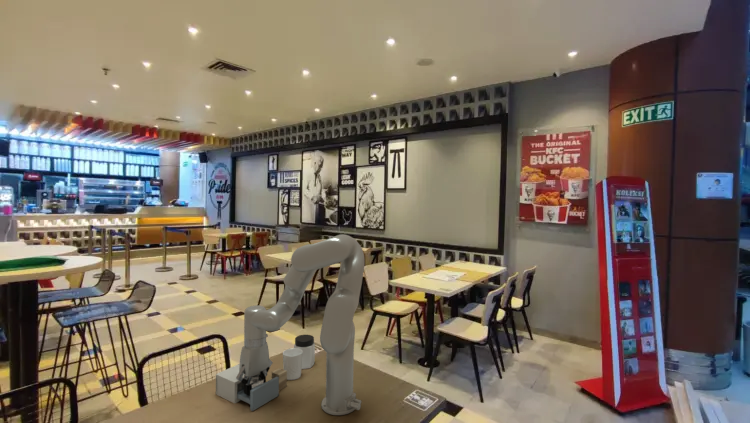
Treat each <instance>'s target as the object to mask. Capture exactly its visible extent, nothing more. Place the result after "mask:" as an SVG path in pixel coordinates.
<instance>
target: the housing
mask: <svg viewBox="0 0 750 423" xmlns="http://www.w3.org/2000/svg"><path fill="white" fill-rule="evenodd" d="M239 365H240V363H238V364H235V365H234V366H231V367H229V368H227V369H224V370H222V371H220V372H218V373H216V374H215V395H217V396H218V397H220V398H222V399H225V400H227V401H229V402H231V403H233V404H237V403H239V402H241V400H240V399H238V398H237V392H238V391H240V390H242V389H244V384H243V383H242V382H240V381H239V380H237V379H236V377H237V375H238V373H239ZM259 375H260V372H259V373H257V374H255V375H253V376H252V377H259ZM243 377H244V374H243V376H242V378H243ZM247 379H248V377H247ZM247 379H246V380H247Z"/></svg>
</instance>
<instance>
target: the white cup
mask: <svg viewBox="0 0 750 423" xmlns="http://www.w3.org/2000/svg"><path fill="white" fill-rule="evenodd" d="M302 352H303V351H302V350H301V349H298V348H294V347H293V348H288V349H284V350H283V352H282V364H283V370H286V371H287V381H293V380H297V379H298V380H299V378H301V376H302V370H303V369H302Z"/></svg>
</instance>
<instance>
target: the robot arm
mask: <svg viewBox="0 0 750 423" xmlns="http://www.w3.org/2000/svg"><path fill="white" fill-rule="evenodd" d="M290 262H291V266H290V268H289V269H288V271H287V273H286V274H285V276H284V278H283V283H284V289H283V292H282V294H281V296H280V297H279V299H278V301H277V302H276V304H275V305H273V306H272V307H271V308H268V309H266V307H265V306H263V305H257V304H256V305H251V306H248V307H246V308H245V310H244V314H243V318H244V320H243V321H244V322H243V323H244V324H243V326H244V327H243V331H244V332H243V338H244V339H243V346H242V347H241V351H240V354H239V364H240V365H239V373H238V375H237V377H236V379H237V380H239V381H240V382H242V383H243V384H244V394H246V395H248V396H250V390H251V384H250V381H251V378H252V376H253V375H255V374H257V373H259V372H260V375H259V377H261V378H263V379H264V383H265V382H267V381H266V380H267V376H268V372H269V371H270V369H271V366H273V364H274V362H273V361H272V360H271V359H270V351H269V350H270V349H269V344H268V341H267V338H268V336H269V335H268V333H267V332H276V331H278V330H280V329H281V328H282V327H283V326H284V325H285V324H286V323H287V322H288V321H289V320H290V319H292V316H293V315H294V313H295V311H296V310H297V308H298V306H299V305H300V302H301V301H302V298H303V296H304V294H305V291H306V290H307V288H308V286H309V285H310V282H311V280H312V279H313V277H314V275H315V273H316V272H317V270H319V269H323V268H326V267H329V266H332V265H336V264H339V263H340V268H339V271H338V275H337V281H336V286H335V289H334V291H333V293H331V295H330V296H329V297H328V300H327V302H326V304H325V307H324V313H323V319H322V323H321V330H320V335H319V342H320V345H321V348H322V349H323V350H324V351H325V353H326V355H325V356H326V358H325V359H326V363H325V369H326V370H325V397H324V398H323V399H322V401H321V406H320V407H321V409H322V410H323V411H324V412H325V413H326V414H328V415H333V416H344V415H348V414H350V413H352V412H354V411H355V410H356V411H359V410H360V409H361V407H362V406H361V405H362V400H361V399H359V398H357V394H356V392H354V358H355V357H354V354H355V353H354V352H355V337H356V327H355V323H354V315H355V312H356V310H357V309H358V307H359V303H360V302H359V301H360V295H361V290H362V284H363V277H364V271H365V255H364V251H363V248H362V246H361V244H360V243H359V242H358V241H357V240H356V239H355V238H354V237H352V236H350V235H348V234H342V233H341V234H337V235H335V236H332V237H330V238H327V239H324V240H321V241H318V242H315V243H311V244H310V243H309V244H308V243H307V244H304V245H302V246H299V247H297V248H296V249H295V250H294V251H293V252H292V255H291V258H290ZM243 374H244V377H243V378H242V376H243ZM247 377H248V379H247ZM246 379H247V380H246Z"/></svg>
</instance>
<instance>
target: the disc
mask: <svg viewBox="0 0 750 423" xmlns="http://www.w3.org/2000/svg"><path fill="white" fill-rule="evenodd" d="M263 383H264V379H263V378H261V377H252V378H251V381H250V384H251V390H252V389H254V388H256V387H258V386H260V385H261V384H263Z"/></svg>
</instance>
